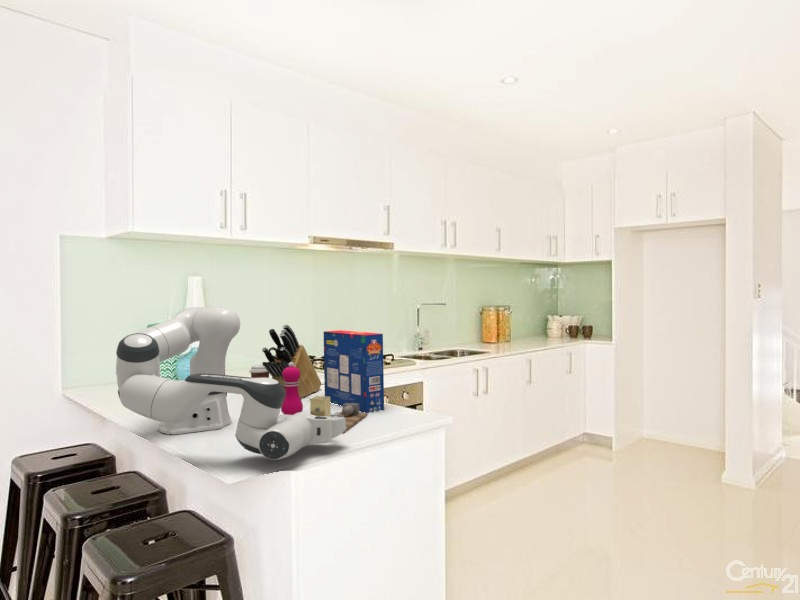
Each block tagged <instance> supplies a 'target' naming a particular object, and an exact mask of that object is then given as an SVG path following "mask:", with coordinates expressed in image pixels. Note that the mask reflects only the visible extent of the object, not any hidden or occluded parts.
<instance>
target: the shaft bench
mask: <svg viewBox="0 0 800 600" xmlns="http://www.w3.org/2000/svg"><path fill="white" fill-rule="evenodd" d="M368 414H369V413H363V412H359V403H345V404H343V407H342V410H341V411H340V412H339V411H338V412H335V413H333V414H331V416H337V417H344V418H345V419H346V429H345V431H344V432H343V433H342V434H345V433H347V432H348V431H349V430H351V429H352V428H353V427H354V425H355V426H356V425H357V424H359V423H360V422H362V421H363V420H364V419H365V418H367V417H368V416H367V415H368ZM366 416H367V417H366ZM363 418H364V419H363ZM362 419H363V420H362ZM358 422H359V423H358ZM350 428H351V429H350ZM346 431H347V432H346Z"/></svg>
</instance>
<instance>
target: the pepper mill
mask: <svg viewBox="0 0 800 600" xmlns="http://www.w3.org/2000/svg"><path fill="white" fill-rule="evenodd" d="M293 366H294V363H293V362H290V363H289V367H287V368H285V369H284V370H283V373H282V377H283V379H284V380H285V381H284V386H285V389H286V391H285V393H286V396H285V398H284V401H283V404H282V407H281V409H280V412H281V413H282V415H294V414H295V413H298V412H303V410H304V406H303V401H302V398H300V397H299V394H298V385H299V381H298V379H299V378H300V370H299V369H298V368H296V367H293Z"/></svg>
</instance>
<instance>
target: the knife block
mask: <svg viewBox="0 0 800 600" xmlns="http://www.w3.org/2000/svg"><path fill="white" fill-rule="evenodd" d="M268 333H269V335H270V338H271V340H272V341H273V342H274V344H275V345H276V347H274V346H272V347H270V348H269V349H268V348H267V347H266V346H265V347H263V348H261V351H262V352H263V353H264V356H265V358H266V359H267V361H263V362H262V363H261V365H263V366H264V367H265V368H266V370H267V371H268V372H269V376H271V378H272V379H275V380H277V381H279V382H280V383H281V385H282V387H283V388H284V391H286V389H285V386H284V381H285V380H284V379H283V377H282V373H283V370H284V369H285V368H287V367H289V363H290V362H293V363H294V366H293V367H296V368H298V369H299V370H300V378H299V379H298V381H299V385H298V394H299V397H300V399H302V398H304V397H306V396H308V395H310V394H312V393H314V392H317V391H319V390H321V386H322V381H321V379H320V377H319V375H318V373H317V371H316V368H315V367H314V364H313V363H312V360H311V358H310V356H309V354H308V353H307V350H306V349H305V346H304V345H303V344H300V343H299V341H298V337H296V334H295V331H294V330H293V329H292V328H291V326H289V325H288V324H284V325H282V330H281V331H280V334H278V333H277V331H276V330H275V329H274V328H270V329H269V330H268ZM281 341H282V342H281ZM271 351H275V354H274V355H273V354H272V352H271Z"/></svg>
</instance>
